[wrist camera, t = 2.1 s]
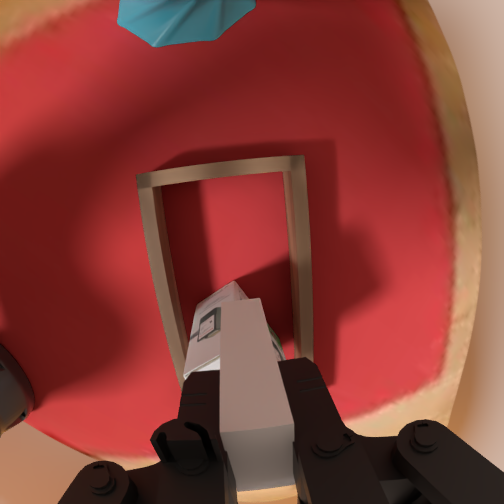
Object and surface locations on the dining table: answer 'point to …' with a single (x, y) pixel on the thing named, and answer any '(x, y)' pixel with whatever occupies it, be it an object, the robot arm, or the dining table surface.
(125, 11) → the vase
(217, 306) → the ink box
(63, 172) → the dining table surface
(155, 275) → the walnut frame
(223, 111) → the dining table surface
